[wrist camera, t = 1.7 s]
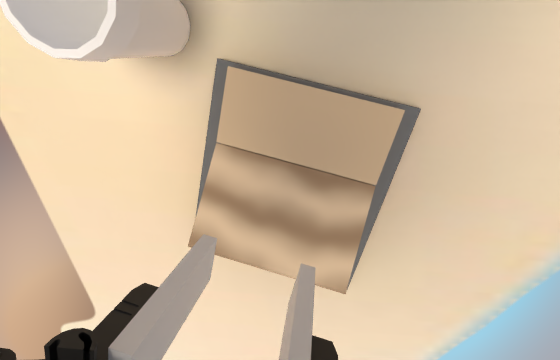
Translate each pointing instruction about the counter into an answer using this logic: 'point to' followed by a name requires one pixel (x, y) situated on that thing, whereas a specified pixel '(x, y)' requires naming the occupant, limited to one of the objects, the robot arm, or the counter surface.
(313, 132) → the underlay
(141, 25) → the foam cup
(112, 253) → the counter surface
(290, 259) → the plank
